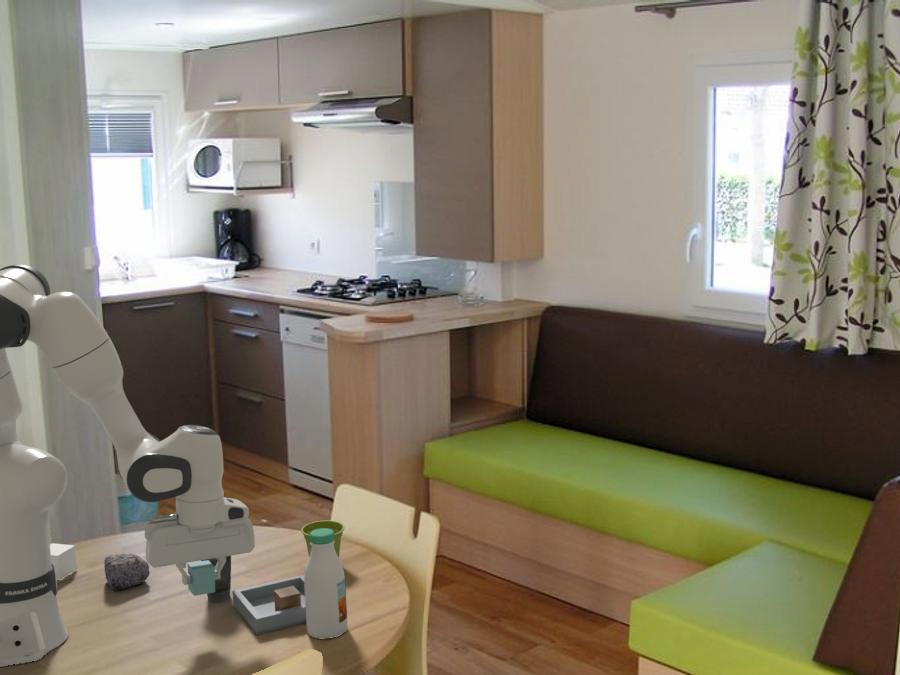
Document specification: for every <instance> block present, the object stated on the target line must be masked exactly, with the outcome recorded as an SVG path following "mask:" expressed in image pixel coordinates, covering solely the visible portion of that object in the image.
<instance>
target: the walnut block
mask: <svg viewBox="0 0 900 675" xmlns="http://www.w3.org/2000/svg"><path fill="white" fill-rule="evenodd" d="M274 600H275V612H276V611H280V610H285V609H289V608H293V607H297V606H301V596H300V592H299V591H298V590H297V589H296V588H295V587H294V586H290V587H286V588H282V589H278V590H274Z"/></svg>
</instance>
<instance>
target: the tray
mask: <svg viewBox="0 0 900 675" xmlns="http://www.w3.org/2000/svg"><path fill="white" fill-rule="evenodd" d="M290 586H294V587H295V588H296V589H297V590H298V591H299V592H300V596H301V606H297V607H293V608H289V609H285V610H280V611H276V612H275V600H274V590H278V589H282V588H286V587H290ZM231 592H232V603H233V604H232V605H233V607H234V608H235V609H236V611H237V612H238V613H239V615H240V616H241V617H243V619H244V620H245V622H246V623H247V624H248V625H249V626H250V628H251V629H252V630H253V631H254V633H255V634H256V636H258V635H263V634H267V633H271V632H275V631H279V630H282V629H287V628H289V627H294V626H298V625H303V624H307V623H306V606H305V587H304V574H300V575H296V576H290V577H287V578H283V579H278V580H274V581H269V582H265V583H261V584H256V585H255V584H254V585H251V586H248V587H247V586H246V587H243V588H239V589H234V590H232V591H231Z"/></svg>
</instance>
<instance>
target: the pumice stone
mask: <svg viewBox="0 0 900 675" xmlns="http://www.w3.org/2000/svg"><path fill="white" fill-rule="evenodd" d="M103 567H104V574H105V579H106V582H107V583H108V585H109V587H110V588H111V589H113V590H112V591H117V590H116V589H119V590H122V588H123V589H128V588H131V587H134V586H138V585H140V584H143V583H144V582H146V580H147V579H148V577H149V576H150V564H149V563H148V562H147V561H146V559H143V558H142V557H140V556H139V555H137V554H132V553H115V554H110V555H107V556H105V557H104V566H103Z"/></svg>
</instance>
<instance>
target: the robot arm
mask: <svg viewBox="0 0 900 675" xmlns="http://www.w3.org/2000/svg"><path fill="white" fill-rule="evenodd" d="M108 334H109V333H108V332H107V330H106V329H105V328H104V326H103V324H102V323H101V321H100V320H99V319H98V317H97V316H96V315H95V312H93V310H92V309H91V308H90V307H89V305H88V304H87V303H86V302H85V301H84V299H82V298H81V296H79V294H77V293H74V292H71V291H58V292H54V293H51V287H50V283H49V281H48V280H47V278H46V277H45V275H44V274H43V273H42V272H41V271H40V270H39V269H37V268H36V267H35V268H34V267H33V266H32V265H31V266H30V265H26V264H20V263H19V264H11V265H8V266H4V267H1V268H0V668H1V667H8V665H9V666H14V665H13V664H15V665H21V664H27V663H32V661H34V662H37V660H38V661H39V659H40V660H42V659H43V658H44V657H45V656H46V654H47V653H49V652H51V651H52V650H54V649H57V648H58V647H59V646H61V645H62V644H63V643H64V642H65V641H66V640H67V638H68V636H69V631H68V629H67V626H66V625H65V621H64V619H63V617H62V616H63V615H62V613H61V610H60V605H59V602H58V598H57V595H58V581H57V579H56V571H55V568H54V566H53V564H52V563H51V552H50V544H51V543H50V542H51V540H50V521H51V520H50V519H51V516H52V511H53V508H54V506H55V504H56V503H57V502H58V501H60V499H61V498H62V497H63V495H64V493H65V491H66V489H67V486H68V473H67V468H66V466H65V464H64V463H63V462H62V461H61V460H60V459H59V458H57V457H56V456H54V455H53V454H51V453H49V452H48V451H46V450H44V449H42V448H38V447H33V446H29V445H25V444H22V443H21V442H20V439H19V438H18V435H17V428H16V426H17V419H18V418H20V417H19V416H20V415H21V413H22V411H23V402H22V399H21V395H20V393H19V389H18V386H17V383H16V379H15V376H14V373H13V371H12V367H11V364H10V360H9V358H8V355H7V349H8V348H18V347H22V346H24V345H25V344H26V342H27V341H29V342H31V343H33V344H35V345H36V346H37V347H38V348H39V349H40V350H41V352H42V354H43V355H44V357H45V358H46V361H47V362H48V364H49V366H50V367H51V369H52V371H53V372H54V374H55V375H56V377H57V378H58V379H59V381H60V383H61V384H62V385H63V386H64V387H65V388H66V389H67V391H68V392H69V393H70V394H71V395H72V396H73V397H74V398H75V399H77V400H79V401H81V402H83V403H84V404H86V405H87V406H88V407H89V408H90V409H91V410H92V411H93V413H94V414H95V416H96V417H97V419H98V420H99V422H100V424H101V425H102V427H103V429H104V431H105V432H106V434H107V436H108V438H109V439H110V442H111V444H112V446H113V449H114V461H115V462H114V463H115V467H116V472H117V473H118V476H119V477H120V479H122V481H123V482H124V483H125V485H126V487H127V488H128V490H129V492H130V493H131V494H132V495H133V496H134V497H135V498H136V499H138V500H139V501H142V502H146V503H156V502H161V501H165V500H168V499H174V498H175V513H174V514H172V513H171V514H167V515H164V516H158V515H157V516H154V517H152V519H150V520H148V521H147V522H146V524H145V525H144V537H145V540H146V544H145V561H146V562H147V563H148V565H149V566H151V567H152V568H161V567H167V566H172V565H173V566H174V565H175V567H176V568H177V570H178V571H179V573H180V574H181V578H182V579H181V581H182V584H183V585H184V586H187V585H188V584H192V575H191V574H190V573H188V572H186V571H185V569H186V568H187V564H188V563H194V562H201V560H206V559H212V558H216V559H217V560H218V562H217V564H216V566H215V580H218V579H220V578H221V576H220V571H221V570H222V568H223V566H224V564H225V563H226V556H231V557H232V556H236V555H244V554H250V553H252V551H253V550H254V548H255V546H256V545H255V544H256V543H255V542H256V540H255V532H254V526H253V523H252V520H250V519H249V516H250V509H249V507H248V506H247V505H246V504H245V503H243V502H242V501H241V500H239V499H236V498H231V497H225V493H224V492H225V491H224V488H223V485H222V481H223V475H224V455H223V453H224V452H223V447H222V446H223V445H222V440H221V437H220V436H219V434H218V433H217V432H216V431H215V430H213V429H212V428H210V427H206V426H202V425H197V424H187V425H181V426H179V427H178V428H177V430H175V431H174V432H173V433H172V434H170V435H169V436H167V437H166V438H164V439H162V440H160V439H159V438H158V437H156V436H155V435H153V434H151V433H150V432H149V431H147V429H145V426H143V425H142V423H141V421H140V419H139V417H138V415H137V414H136V412H135V411H134V408H133V406H132V405H131V404H130V401H129V400H128V398H127V395H126V394H125V393H126V392H125V391H124V386H123V380H124V379H123V378H124V368H123V366H122V362H121V359H120V356H119V354H118V351H117V349H116V347H115V345H114V343H113V341H112V339H111V338H110V336H109V335H108ZM44 655H45V656H44ZM43 656H44V657H43ZM42 657H43V658H42ZM26 662H27V663H26ZM20 663H21V664H20Z"/></svg>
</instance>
